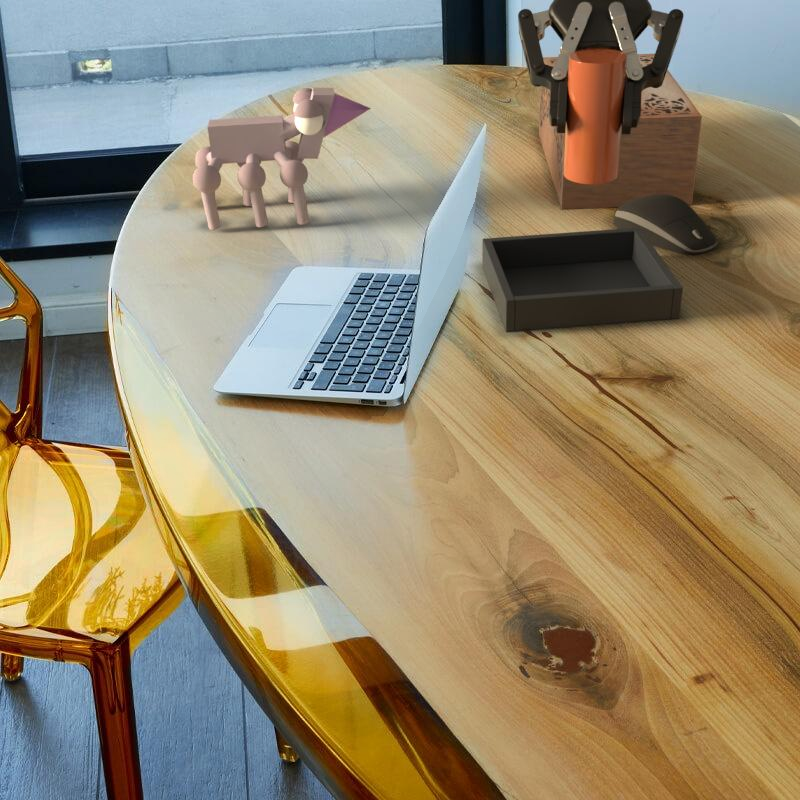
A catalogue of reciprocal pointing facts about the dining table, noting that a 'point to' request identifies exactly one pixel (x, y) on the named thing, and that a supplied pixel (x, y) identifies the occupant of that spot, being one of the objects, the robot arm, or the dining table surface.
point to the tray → (579, 280)
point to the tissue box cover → (635, 150)
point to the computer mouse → (667, 224)
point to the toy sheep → (271, 150)
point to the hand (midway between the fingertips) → (594, 128)
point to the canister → (594, 115)
